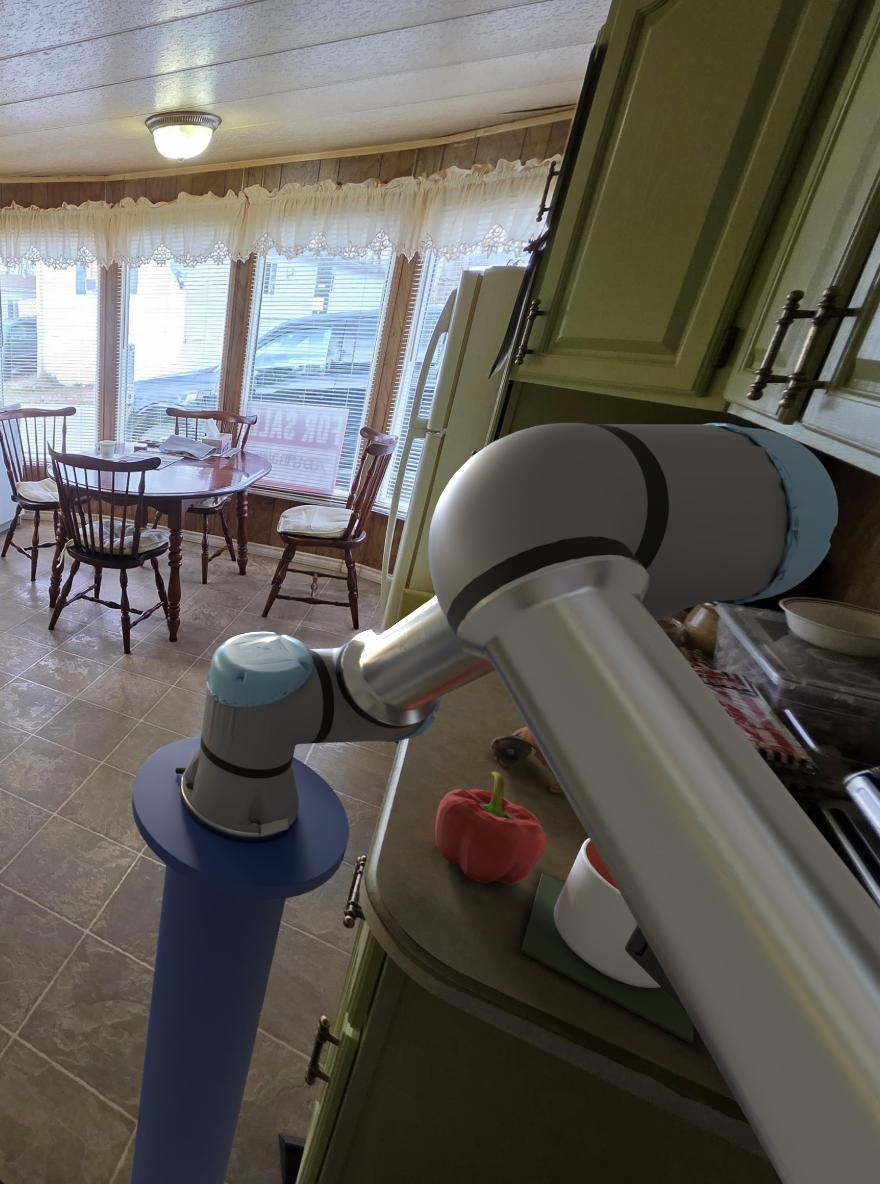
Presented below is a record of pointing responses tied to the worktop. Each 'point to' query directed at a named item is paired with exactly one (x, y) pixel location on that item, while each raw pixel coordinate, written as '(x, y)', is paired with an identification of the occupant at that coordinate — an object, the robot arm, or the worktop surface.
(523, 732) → the headlamp
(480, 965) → the worktop surface
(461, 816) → the vegetable
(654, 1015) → the coaster
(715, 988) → the robot arm
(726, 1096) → the worktop surface
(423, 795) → the worktop surface
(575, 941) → the cup
